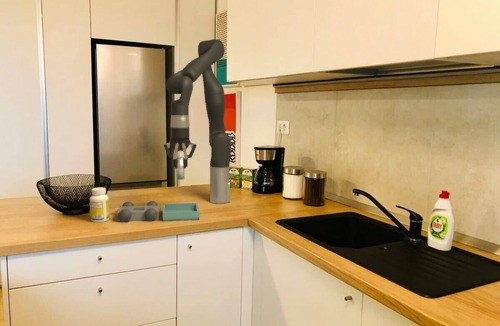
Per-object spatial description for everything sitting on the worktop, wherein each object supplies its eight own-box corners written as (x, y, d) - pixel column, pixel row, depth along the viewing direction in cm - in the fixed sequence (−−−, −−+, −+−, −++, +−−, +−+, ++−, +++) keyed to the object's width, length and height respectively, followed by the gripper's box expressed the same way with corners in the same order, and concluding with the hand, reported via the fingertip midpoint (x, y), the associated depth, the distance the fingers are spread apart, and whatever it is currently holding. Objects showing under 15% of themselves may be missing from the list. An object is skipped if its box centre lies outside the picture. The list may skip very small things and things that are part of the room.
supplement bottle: (103, 216, 170) (102, 186, 168) (113, 219, 166) (111, 188, 164) (87, 220, 165) (85, 188, 163) (96, 223, 160) (95, 191, 158)
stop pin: (184, 178, 173) (184, 156, 171) (184, 179, 169) (184, 157, 168) (176, 178, 172) (176, 156, 171) (176, 179, 169) (176, 158, 167)
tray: (197, 210, 182) (197, 202, 181) (199, 219, 167) (199, 211, 167) (163, 211, 179) (163, 203, 178) (162, 221, 165) (162, 212, 164)
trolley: (159, 211, 178) (159, 200, 177) (158, 221, 165) (158, 208, 164) (115, 213, 175) (115, 201, 174) (111, 222, 161) (110, 210, 161)
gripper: (196, 125, 172) (196, 166, 175) (162, 125, 170) (163, 166, 172) (198, 127, 165) (198, 169, 168) (162, 126, 162) (162, 169, 165)
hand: (180, 167), depth 170 cm, fingers closed on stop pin, 3 cm apart
